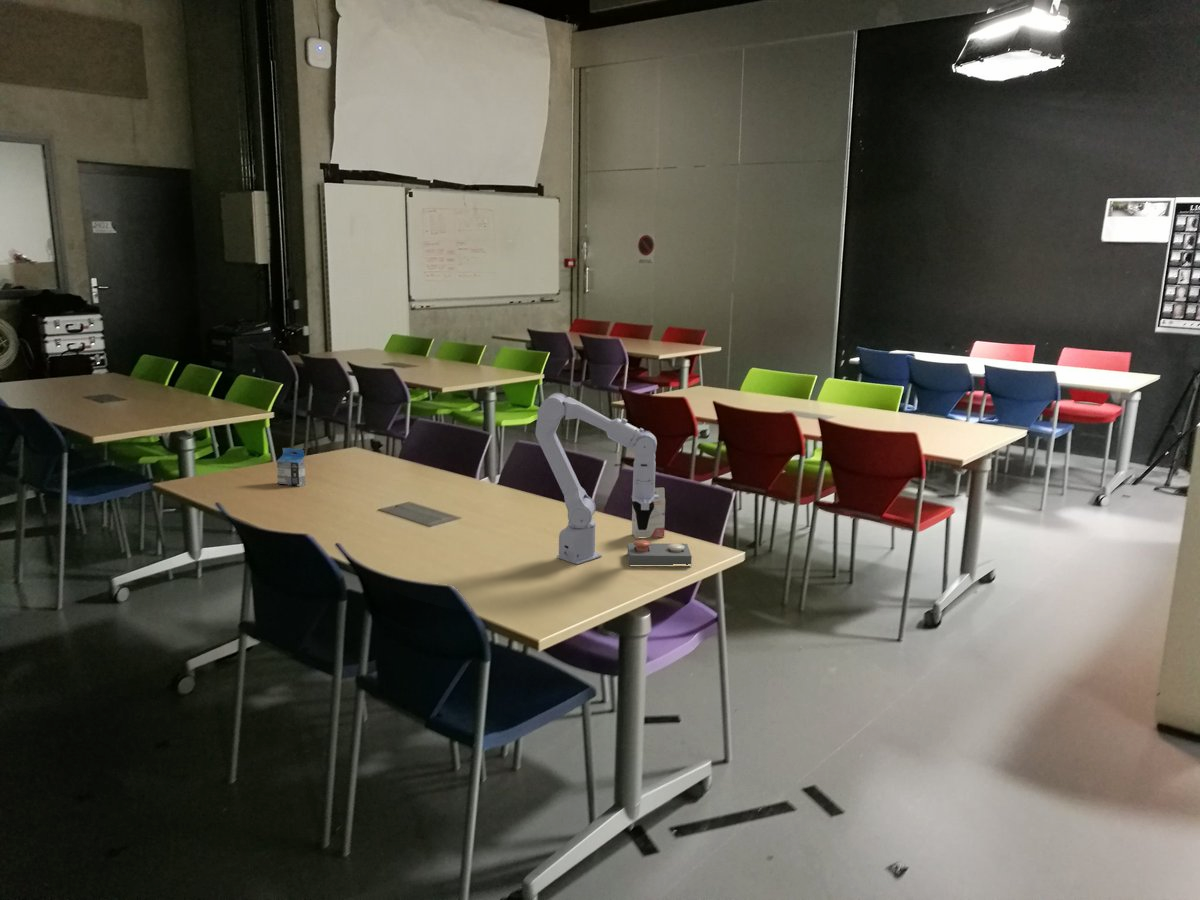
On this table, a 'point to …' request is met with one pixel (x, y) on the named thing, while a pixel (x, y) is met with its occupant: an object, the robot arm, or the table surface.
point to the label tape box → (291, 467)
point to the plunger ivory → (676, 547)
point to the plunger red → (642, 545)
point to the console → (658, 555)
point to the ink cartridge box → (652, 518)
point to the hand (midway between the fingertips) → (642, 529)
